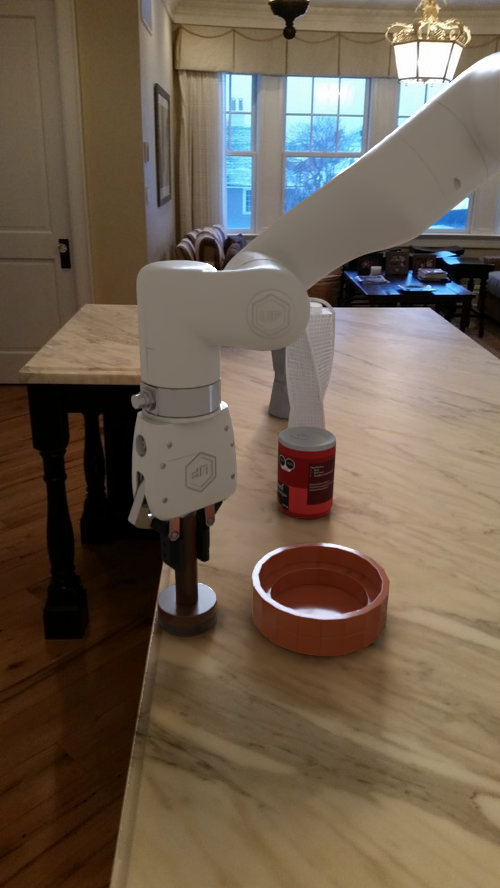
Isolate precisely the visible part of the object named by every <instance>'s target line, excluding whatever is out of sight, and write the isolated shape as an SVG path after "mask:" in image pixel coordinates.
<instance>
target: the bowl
mask: <svg viewBox="0 0 500 888" xmlns="http://www.w3.org/2000/svg"><path fill="white" fill-rule="evenodd" d="M390 583H391V582H390V578H389V577H388V575H387V573H386V571H385V569H384V567H382V566H381V565H380V564H379V563H378V562H377V561H376V560H375V559H374V558H372V557H370V556H369V555H366V554H365V553H363V552H361V551H359V550H357V549H354V548H350V547H347V546H345V545H344V546H343V545H340V544H335V543H328V542H327V543H326V542H319V541H317V542H298V543H294V544H289V545H284V546H281V547H278V548H276V549H274V550H272V551H270V552H266V554H264V555H263V556H262V557H261V558H260V559H259V560H258V561H256V563H255V565H254V567H253V570H252V572H251V575H250V612H251V618H252V619H251V620H252V622H253V623H254V625H255V626H256V628H257V629H258V631H259V632H260V633H261V635H263V636H264V637H265V638H267V639H268V640H269V641H271V642H272V643H274V644H275V645H277V646H279V647H282V648H285V649H286V650H287V649H288V650H290V651H292V652H295V653H298V654H302V655H303V654H305V655H309V656H317V657H328V656H329V657H330V656H331V657H333V656H343V655H346V654H351V653H355V652H357V651H360V650H364V649H365V648H366V647H368V646H369V645H372V643H374V642H376V641H377V640H378V639H379V638H380V636H381V634H382V633H383V632H384V630H385V628H386V624H387V623H386V622H387V616H388V615H387V614H388V606H389V605H388V604H389V596H390Z"/></svg>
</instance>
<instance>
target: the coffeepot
mask: <svg viewBox="0 0 500 888" xmlns="http://www.w3.org/2000/svg"><path fill="white" fill-rule="evenodd" d="M270 352H271V362H272V368H273V371H274V378H273V383H272V388H271V393H270V398H269V403H268V404H269V405H268V413H269V414H270V415H272V416H273V417H276V418H280V419H284V420H289V414H290V403H289V397H288V390H287V381H286V347H284V348H281V349H278V350H272V351H270Z"/></svg>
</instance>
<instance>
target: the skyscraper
mask: <svg viewBox="0 0 500 888" xmlns="http://www.w3.org/2000/svg"><path fill="white" fill-rule="evenodd" d="M309 300H310V306H311V311H310V319H309V322H308V325H307V327H306V329H305V331H304V332H303V334H302V335H301V336H300V337H299V338H298V339H297V340H296V341H295V342H293V343H292V344H290V345H288V346H286V381H287V390H288V397H289V403H290V414H289V419H288V420H287V421H288V422H287V427H286V429H288V428H292V427H301V426H308V427H317V428H321V429H324V430H327V428H326V415H325V407H324V406H325V405H324V400H325V396H326V394H327V390H328V387H329V383H330V378H331V374H332V369H333V363H334V356H335V343H336V342H335V341H336V311H335V309H334V308H333V306H332V305H331V304H330V303H329V302H328V301H326V300H325V299H322V298H320V297H319V298H318V297H310V296H309ZM323 305H324V306H326V307H327V309H326V308H324V307H323Z"/></svg>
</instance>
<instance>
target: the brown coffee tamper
mask: <svg viewBox="0 0 500 888" xmlns="http://www.w3.org/2000/svg"><path fill="white" fill-rule="evenodd" d="M180 536H181V537H183V538H184V540H185V570H184V572H181V573H178V572H176V571H175V570H174V578H175V579H174V584H171V585H169V586H167V587H166V588H164V589H163V590H162V591H161V592H160V593H159V595H158V596H157V601H156V602H157V621H158V624H159V626H160V627H161V629H163V630H164V631H165V632H167V633H168V634H171V635H174V636H179V637H192V636H197V635H201V634H205V632H207V631H210V629H212V628H213V627H214V626H215V624H216V622H217V620H218V597H217V593H216V592H215V591H214V590H213V588H211V587H210V586H208V585H206V584H203V583H200V582H199V571H198V568H199V567H198V559H197V525H196V511H194V512H191V513H188V514H186V515H183V516H180Z"/></svg>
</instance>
